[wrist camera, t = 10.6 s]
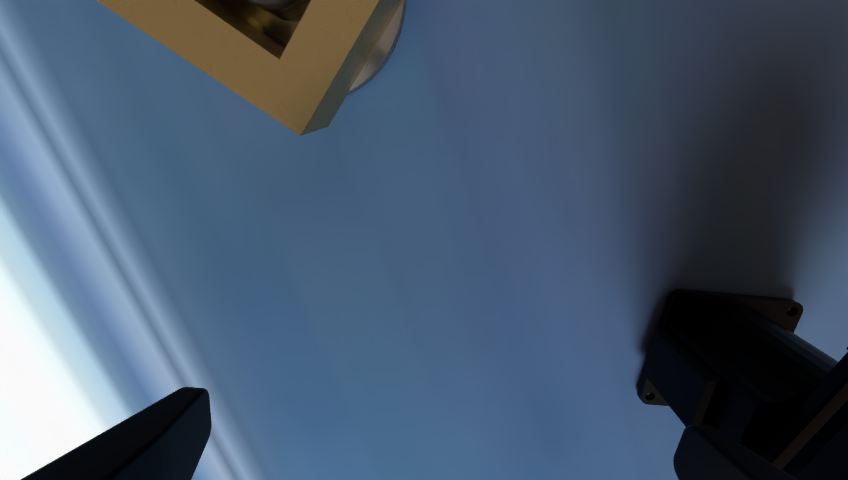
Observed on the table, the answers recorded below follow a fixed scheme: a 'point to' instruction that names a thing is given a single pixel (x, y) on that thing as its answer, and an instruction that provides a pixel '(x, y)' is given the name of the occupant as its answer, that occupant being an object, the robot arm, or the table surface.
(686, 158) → the table surface
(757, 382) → the robot arm
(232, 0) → the cylinder
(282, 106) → the brass square frame
